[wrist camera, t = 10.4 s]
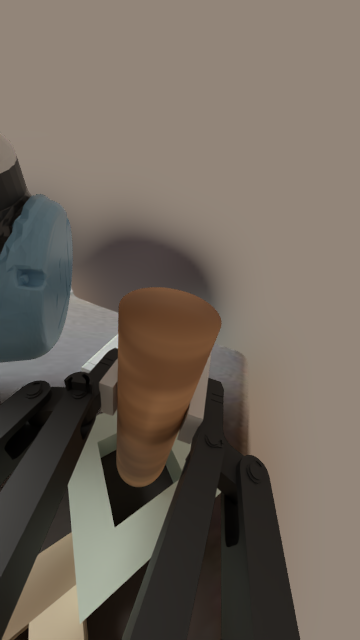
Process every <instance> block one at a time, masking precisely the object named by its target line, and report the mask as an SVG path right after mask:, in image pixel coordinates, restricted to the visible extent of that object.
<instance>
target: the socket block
mask: <svg viewBox="0 0 360 640" xmlns="http://www.w3.org/2000/svg"><path fill="white" fill-rule="evenodd" d="M179 430H180V429H179ZM178 434H179V432H178ZM178 434H177V437H176V439H175V441H174V444H173V446H172V449H171V451H170V454H169V456H168V459H167V461H166V467H167V469H168V472H169V474H170V476H171V479H172V481H173V485H171V486H170V487H169V488H167V489H166V490H165V491H163V492H162V493H160V494H159V495H158V496H156V497H155V498H154V499H152V500H151V501H150V502H148V503H147V504H146V505H144V506H143V507H142V508H140V509H139V510H138V511H136V512H135V513H134V514H132V515H131V516H130V517H128V518H127V519H126V520H124V521H123V522H122V523H120V524H119V525H118V526H116V527H114V522H113V517H112V512H111V507H110V502H109V497H108V493H107V488H106V483H105V478H104V473H103V468H102V463H101V458H102V457H103V456H105V455H107V454H109V453H111V452H113V451H115V450H117V410H116V412H115V414H114V415H113V416H111V415H108V414H105V413H102V414H99V415H97V416H96V420H95V422H94V425H93V427H92V429H91V432H90V434H89V436H88V439H87V441H86V443H85V446H84V448H83V450H82V453H81V455H80V457H79V460H78V462H77V464H76V467H75V469H74V471H73V474H72V476H71V478H70V481H69V483H68V492H69V504H70V516H71V528H72V539H73V551H74V563H75V575H76V586H77V598H78V610H79V622H80V624H81V623H82V622H83V621H84V620H85V619H86V618H87V617H88V616H89V615H90V614H91V613H92V612H93V611H94V610H96V609H97V608H98V607H99V606H100V605H101V604H102V603H103V602H104V601H105V600H106V599H107V598H108V597H109V596H111V595H112V594H113V593H114V592H115V591H116V590H117V589H118V588H119V587H120V586H121V585H122V584H123V583H124V582H126V581H127V580H128V579H129V578H130V577H131V576H132V575H133V574H134V573H135V572H136V571H137V570H138V569H139V568H141V567H142V566H143V565H144V564H145V563H146V562H147V561H148V560H149V559H150V558H151V556H152V553H153V551H154V548H155V545H156V542H157V539H158V537H159V534H160V531H161V528H162V526H163V523H164V520H165V517H166V515H167V512H168V509H169V506H170V503H171V501H172V498H173V495H174V492H175V490H176V487H177V484H178V481H179V478H180V476H181V473H182V470H183V467H184V465H185V462H186V460H185V459H186V457H187V456H188V454H189V452H190V449H191V444H187V443H185V442H182V441H179V440H177V438H178ZM191 443H192V442H191ZM220 493H221V491H220V490H219V489H218V488H217V492H216V497H217V496H218V495H219V494H220ZM216 497H215V498H216Z"/></svg>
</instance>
